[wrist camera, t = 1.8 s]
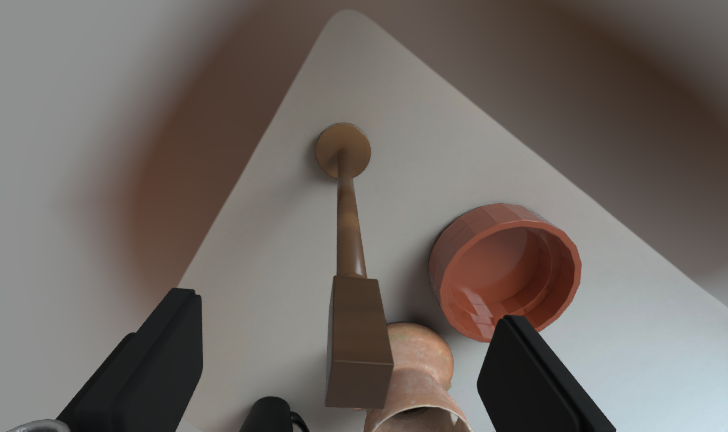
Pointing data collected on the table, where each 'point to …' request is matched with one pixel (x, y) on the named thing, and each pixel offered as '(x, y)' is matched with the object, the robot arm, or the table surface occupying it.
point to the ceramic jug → (418, 385)
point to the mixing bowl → (503, 269)
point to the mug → (272, 417)
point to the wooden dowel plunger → (353, 287)
